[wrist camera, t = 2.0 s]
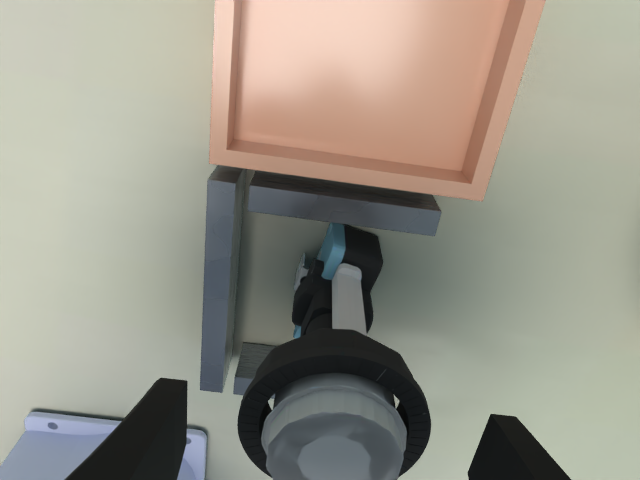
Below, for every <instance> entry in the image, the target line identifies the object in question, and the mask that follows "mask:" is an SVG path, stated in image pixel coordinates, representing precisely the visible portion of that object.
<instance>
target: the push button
mask: <svg viewBox="0 0 640 480" xmlns="http://www.w3.org/2000/svg"><path fill="white" fill-rule="evenodd" d="M304 263H305V254H303V255H302V258H301V260H300V263H299V265H298V268H297V271H296V275H295V283H294V285H295V286H294V290H296V293H295V296H294V303H293V312H292V322H293V323H294V324H295V330H294V335H293V338H297V339H294V340H292V341H289V342H287V343H285V344H282V345H280V346H278V347H275V348H273V349H272V350H271V351H270V352H269V354H268V355H267V357H266V358H265V359H264V361H263V362H262V363H261V365H260V366H259V367H258V369H257V371H256V375H255V378H254V379H253V380H252V382H251V383H250V385H249V386H248V388H247V390H246V391H245V393H244V396H243V399H242V401H241V406H240V410H239V415H238V434H239V438H240V441H241V444H242V446H243V448H244V450H245V452H246V454H247V455H248V457H249V458H250V459H251V461H252V462H253V463H254V464H255V465H256V466H257V467H258V468H259V469H260V470H262V471H263V472H264V473H266V474H267V475H268V476H270V477H271V478H273V480H397V479H398V477H400V476H401V475H402V474H404V473H405V472H406V471H408V470H409V469H410V468H411V467H412V466H413V465H414V464H415V463H416V462H417V461H418V459H419V458H420V456H421V455H422V454H423V452H424V450H425V448H426V446H427V443H428V441H429V437H430V431H431V419H430V414H429V409H428V405H427V401H426V399H425V396H424V393H423V392H422V390H421V388H420V386H419V385H418V384H417V382H416V381H415V380H414V378H413V376H412V374H411V372H410V370H409V369H408V367H407V365H406V363H405V362H404V360H403V358H402V357H401V355H400V354H399V353H398V352H396V351H394V350H392V349H390V348H388V347H386V346H384V345H382V344H381V343H379V342H377V341H375V340H373V339H371V338H369V337H367V333H368V331H369V329H370V327H371V324H372V321H373V308H372V301H371V295H370V291H371V289H372V287H373V285H374V283H375V281H376V279H377V277H378V275H379V273H380V271H381V268H382V265H383V259H382V254H381V249H380V245H379V240H378V237H377V236H375V235H372V234H369V233H366V232H363V231H360V230H357V229H354V228H351V227H349V226H346V225H343V224H340V223H333V222H331V223H330V225H329V227H328V230H327V234H326V237H325V239H324V241H323V244H322V246H321V249H320V251H319V254H318V256H317V258H316V259H313V261H312V263H311V266H310V268H309V270H308V269H305V268H304ZM274 394H275V399H274V407H273V410H271V408H270V406H269V404H268V400H269V399H270V398H271V397H272V396H273V395H274ZM393 394H394V395H395V396H396V397H397V398H398V399H399V401H400V402H399V404H398V407H397V409H396V408H395V402H394V395H393Z"/></svg>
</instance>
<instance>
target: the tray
mask: <svg viewBox="0 0 640 480" xmlns="http://www.w3.org/2000/svg"><path fill="white" fill-rule="evenodd" d="M545 1H546V0H215V17H214V44H213V71H212V98H211V124H210V151H209V164H216V165H223V166H231V167H238V168H245V169H252V170H260V171H267V172H274V173H281V174H288V175H296V176H303V177H310V178H317V179H324V180H332V181H339V182H346V183H353V184H361V185H368V186H375V187H382V188H389V189H397V190H404V191H411V192H418V193H425V194H433V195H440V196H447V197H454V198H462V199H469V200H476V201H483V199H484V196H485V193H486V189H487V186H488V183H489V180H490V177H491V173H492V170H493V167H494V164H495V161H496V157H497V154H498V151H499V148H500V145H501V141H502V138H503V135H504V132H505V129H506V125H507V122H508V119H509V116H510V113H511V109H512V106H513V103H514V100H515V97H516V94H517V90H518V87H519V84H520V81H521V78H522V74H523V71H524V68H525V65H526V62H527V58H528V55H529V52H530V49H531V46H532V42H533V39H534V36H535V33H536V30H537V26H538V23H539V20H540V17H541V14H542V10H543V7H544V4H545Z"/></svg>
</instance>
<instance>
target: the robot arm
mask: <svg viewBox="0 0 640 480" xmlns="http://www.w3.org/2000/svg"><path fill="white" fill-rule="evenodd" d="M24 424H25V429H26V431H25V432H24V434H23V435H22V436H21V438H20V439H19V441H18V442H17V443H16V445H15V446H14V448H13V449H12V450H11V452H10V453H9V455H8V456H7V457H6V459H5V460H4V462H3V463H2V464H1V466H0V480H205V466H206V445H207V436H206V434H205V433H204V432H203V431H201V430H195V429H187V381H185V380H176V379H167V378H160V379H159V380H157V381H156V382H155V383H154V384H153V386H152V387H151V388H150V389H149V391H148V392H147V393H146V394H145V395H144V397H143V398H142V399H141V400H140V401H139V402H138V404H137V405H136V406H135V407H134V408H133V409H132V410H131V412H130V413H129V414H128V415H127V416H126V417H125V418H124V419H123V421H115V420H106V419H97V418H88V417H79V416H70V415H62V414H53V413H44V412H31V413H29V414H28V415H27V417H26V418H25V419H24ZM187 437H188V438H187ZM468 477H469V480H571V479H570V478H569V477H568V475H567V474H566V473H565V472H564V471H563V470H562V469H561V468H560V466H559V465H558V464H557V463H556V462H555V461H554V460H553V458H552V457H551V456H550V455H549V454H548V453H547V451H546V450H545V449H544V448H543V447H542V446H541V445H540V443H539V442H538V441H537V440H536V439H535V438H534V436H533V435H532V434H531V433H530V432H529V431H528V430H527V429H526V427H525V426H524V425H523V424H522V423H521V422H520V421H519V420H518V419H517V417H514V416H505V415H496V414H491V415H490V417H489V420H488V422H487V425H486V427H485V430H484V432H483V435H482V438H481V440H480V443H479V445H478V448H477V450H476V453H475V455H474V458H473V460H472V463H471V465H470V468H469V471H468Z"/></svg>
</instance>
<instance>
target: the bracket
mask: <svg viewBox="0 0 640 480" xmlns="http://www.w3.org/2000/svg"><path fill="white" fill-rule="evenodd" d="M245 173H246V169H245V168H238V167H231V166H223V165H218V166H217V167H216V168H215V170H214V171H213V173H212V174H211V176H210V177H209V178H208V184H207V211H206V239H205V266H204V293H203V321H202V348H201V376H200V390H203V391H211V392H220V393H222V392H223V388H224V385H225V381H226V377H227V374H228V370H229V366H230V363H231V359H232V351H233V337H234V323H235V310H236V296H237V282H238V269H239V255H240V241H241V228H242V214H243V200H244V187H245ZM248 211H251V212H258V213H266V214H273V215H281V216H288V217H296V218H303V219H311V220H318V221H325V222H333V223H340V224H348V225H355V226H363V227H370V228H377V229H385V230H392V231H400V232H407V233H415V234H422V235H430V236H435V234H436V230H437V226H438V223H439V219H440V215H441V210H440V208H439V206H438V204H437V203H436V201H435V199H434V197H433V195H432V194H425V193H418V192H411V191H404V190H397V189H389V188H382V187H375V186H368V185H361V184H353V183H346V182H339V181H332V180H324V179H317V178H310V177H303V176H296V175H288V174H281V173H274V172H267V171H260V170H256V172H255V175H254V177H253V179H252V181H251V184H250V188H249V201H248ZM275 347H276V346H268V345H260V344H252V343H243V346H242V350H241V354H240V358H239V362H238V366H237V370H236V374H235V380H234V393H233V394H237V395H244V393H245V391H246V390H247V388H248V386H249V385H250V383H251V382H252V380H253V379H254V378H255V375H256V371H257V369H258V367H259V366H260V365H261V363H262V362H263V361H264V359H265V358H266V357H267V355H268V354H269V352H270V351H271V350H272V349H273V348H275ZM271 398H272V399H275V394H274V395H273V396H272V397H271Z"/></svg>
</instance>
